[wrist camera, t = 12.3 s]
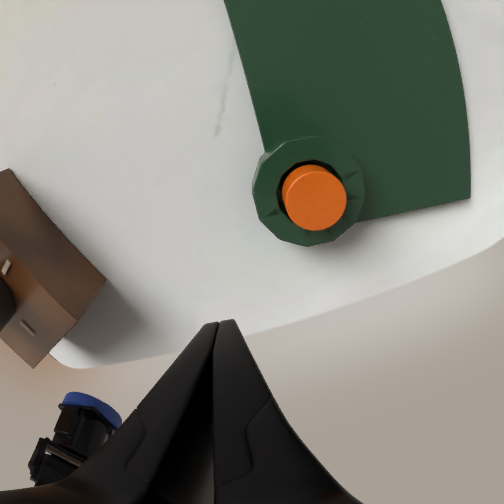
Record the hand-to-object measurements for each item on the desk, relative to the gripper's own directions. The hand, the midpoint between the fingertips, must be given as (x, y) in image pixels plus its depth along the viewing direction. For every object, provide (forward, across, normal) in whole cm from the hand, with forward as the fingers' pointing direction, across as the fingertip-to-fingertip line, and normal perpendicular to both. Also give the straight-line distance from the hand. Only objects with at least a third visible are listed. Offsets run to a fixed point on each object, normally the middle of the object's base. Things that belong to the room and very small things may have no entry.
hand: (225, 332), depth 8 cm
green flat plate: (+11, -9, -7) cm, 16 cm away
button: (+9, -4, -1) cm, 10 cm away
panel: (+11, +18, 0) cm, 21 cm away
